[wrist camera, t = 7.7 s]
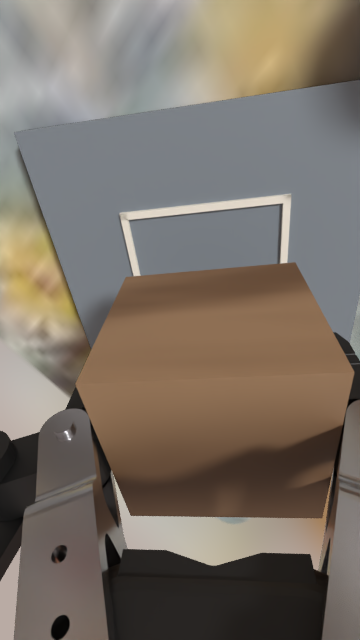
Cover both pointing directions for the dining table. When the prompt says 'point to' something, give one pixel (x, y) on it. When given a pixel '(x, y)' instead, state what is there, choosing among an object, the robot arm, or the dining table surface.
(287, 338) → the walnut block
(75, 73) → the dining table surface
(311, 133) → the board
